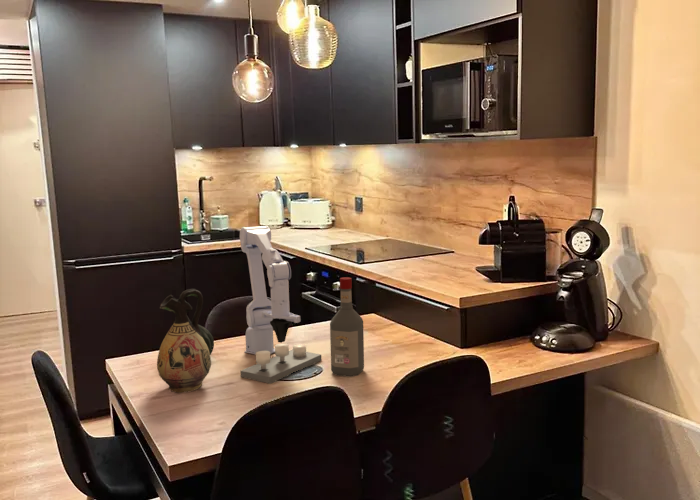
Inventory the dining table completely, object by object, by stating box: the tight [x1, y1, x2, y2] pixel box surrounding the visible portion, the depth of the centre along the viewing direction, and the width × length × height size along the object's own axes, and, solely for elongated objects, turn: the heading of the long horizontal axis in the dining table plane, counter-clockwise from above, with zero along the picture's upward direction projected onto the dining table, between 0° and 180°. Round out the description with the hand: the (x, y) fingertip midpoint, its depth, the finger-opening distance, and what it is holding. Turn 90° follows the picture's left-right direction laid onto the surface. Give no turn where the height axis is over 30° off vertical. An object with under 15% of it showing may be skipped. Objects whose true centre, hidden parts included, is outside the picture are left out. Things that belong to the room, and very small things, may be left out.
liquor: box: [329, 276, 365, 378], centre depth 203 cm, size 9×9×30 cm
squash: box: [198, 323, 215, 356], centre depth 218 cm, size 14×15×15 cm
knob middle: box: [274, 343, 290, 361], centre depth 209 cm, size 4×4×5 cm
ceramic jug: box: [156, 288, 212, 394], centre depth 192 cm, size 17×15×30 cm
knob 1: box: [255, 351, 271, 369], centre depth 202 cm, size 4×4×5 cm
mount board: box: [240, 348, 322, 385], centre depth 210 cm, size 12×26×2 cm, turn 146°
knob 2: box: [292, 343, 307, 357], centre depth 217 cm, size 4×4×5 cm
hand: (281, 341), depth 209 cm, fingers closed
